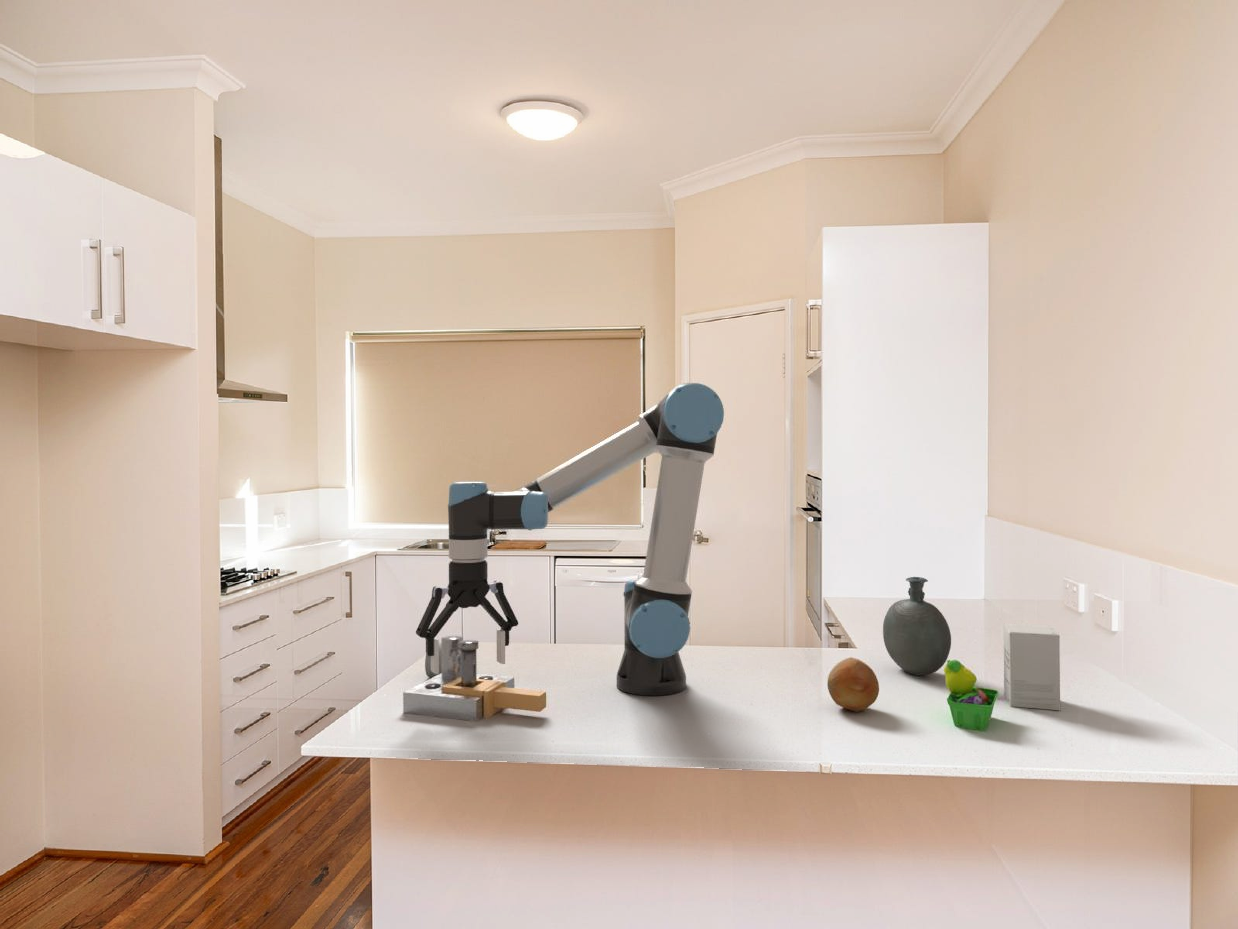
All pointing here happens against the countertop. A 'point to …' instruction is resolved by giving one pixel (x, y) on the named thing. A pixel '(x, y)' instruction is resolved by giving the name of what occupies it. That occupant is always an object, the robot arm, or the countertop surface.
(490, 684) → the bracket
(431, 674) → the ceramic mug
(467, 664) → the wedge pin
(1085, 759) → the countertop surface
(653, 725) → the countertop surface
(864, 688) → the onion
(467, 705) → the grey latch block
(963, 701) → the fruit basket
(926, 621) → the flask
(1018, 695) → the supplement box
